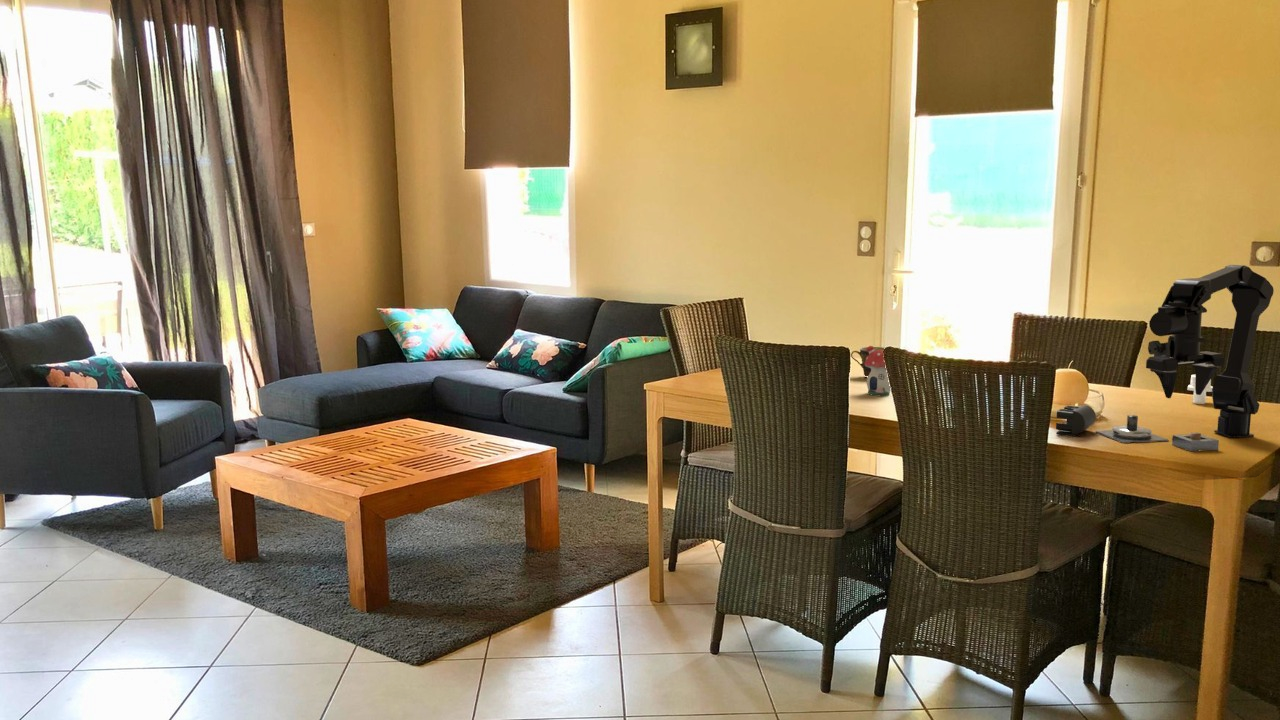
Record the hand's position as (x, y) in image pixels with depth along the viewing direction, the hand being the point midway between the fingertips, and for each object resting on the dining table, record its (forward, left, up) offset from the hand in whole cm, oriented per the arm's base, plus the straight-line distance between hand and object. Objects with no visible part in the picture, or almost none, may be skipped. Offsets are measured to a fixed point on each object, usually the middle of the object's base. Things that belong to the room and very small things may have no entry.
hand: (1183, 396), depth 246 cm
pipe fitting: (-39, -47, -12) cm, 62 cm away
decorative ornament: (+47, -79, -12) cm, 92 cm away
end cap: (+17, -18, -13) cm, 27 cm away
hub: (+6, -11, -12) cm, 17 cm away
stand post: (-2, +2, -12) cm, 13 cm away
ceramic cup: (+39, -108, -12) cm, 115 cm away
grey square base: (-2, +2, -12) cm, 13 cm away
